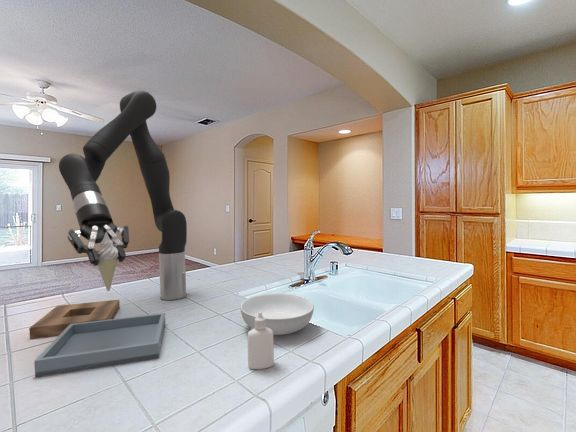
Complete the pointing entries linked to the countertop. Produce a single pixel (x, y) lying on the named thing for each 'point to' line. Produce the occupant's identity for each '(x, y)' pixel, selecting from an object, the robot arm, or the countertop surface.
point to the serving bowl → (278, 312)
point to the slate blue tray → (103, 344)
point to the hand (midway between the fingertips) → (109, 261)
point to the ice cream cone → (107, 260)
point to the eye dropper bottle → (260, 345)
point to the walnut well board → (73, 317)
